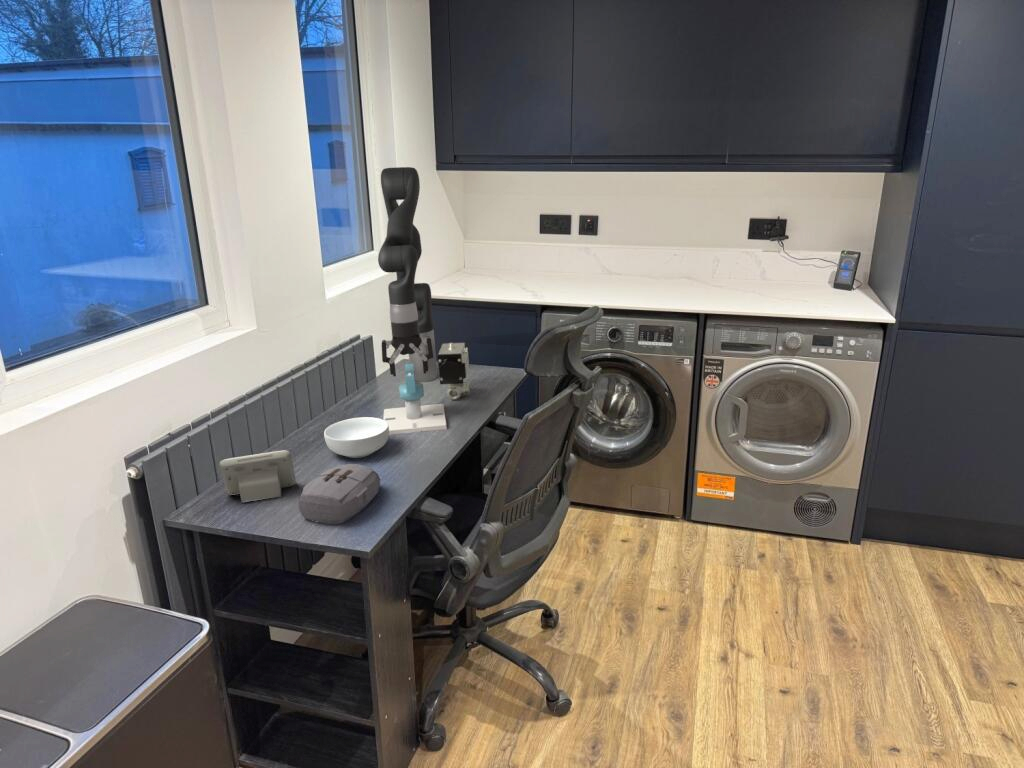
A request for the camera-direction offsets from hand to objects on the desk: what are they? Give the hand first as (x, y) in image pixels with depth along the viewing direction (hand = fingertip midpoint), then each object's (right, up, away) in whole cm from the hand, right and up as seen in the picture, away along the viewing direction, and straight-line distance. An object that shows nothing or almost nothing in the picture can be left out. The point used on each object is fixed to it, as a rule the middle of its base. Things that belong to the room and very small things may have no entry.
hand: (409, 374), depth 202 cm
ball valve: (+11, -7, +28) cm, 31 cm away
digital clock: (-31, -29, -31) cm, 53 cm away
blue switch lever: (0, -6, +6) cm, 9 cm away
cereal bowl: (-12, -21, -11) cm, 27 cm away
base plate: (0, -14, +9) cm, 16 cm away
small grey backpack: (-10, -30, -38) cm, 49 cm away
